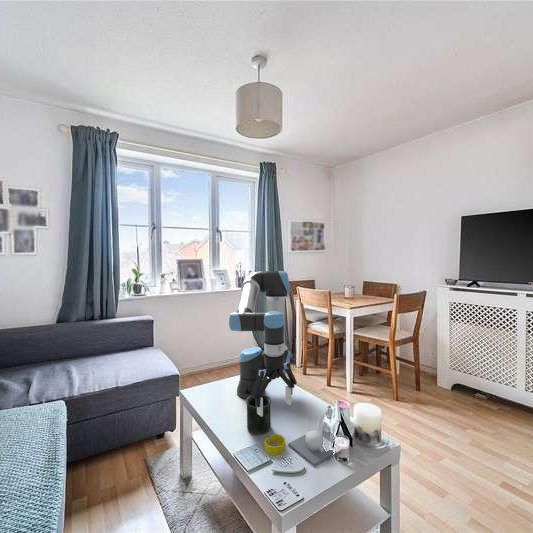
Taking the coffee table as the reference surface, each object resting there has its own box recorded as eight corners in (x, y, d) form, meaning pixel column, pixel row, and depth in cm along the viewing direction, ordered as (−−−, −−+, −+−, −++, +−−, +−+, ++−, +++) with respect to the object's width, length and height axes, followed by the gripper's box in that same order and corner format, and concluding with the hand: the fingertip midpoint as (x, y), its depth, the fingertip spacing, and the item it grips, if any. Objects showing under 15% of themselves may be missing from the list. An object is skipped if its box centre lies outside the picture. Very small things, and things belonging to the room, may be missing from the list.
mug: (249, 438, 119) (249, 409, 119) (242, 418, 133) (241, 392, 133) (275, 433, 122) (274, 405, 122) (265, 414, 136) (264, 389, 136)
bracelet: (289, 449, 113) (289, 440, 113) (273, 458, 108) (273, 450, 107) (276, 439, 118) (276, 431, 118) (260, 448, 113) (260, 440, 113)
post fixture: (288, 445, 114) (288, 433, 114) (314, 432, 123) (314, 420, 122) (314, 466, 103) (314, 453, 103) (340, 450, 111) (341, 437, 111)
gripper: (251, 364, 101) (252, 424, 102) (305, 349, 116) (305, 402, 116) (240, 357, 107) (241, 415, 108) (292, 344, 122) (293, 395, 123)
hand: (274, 408), depth 112 cm, fingers open, 13 cm apart
